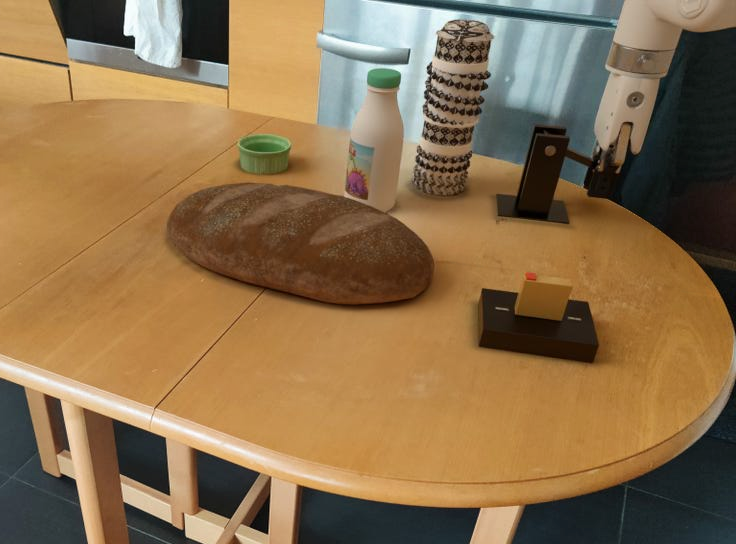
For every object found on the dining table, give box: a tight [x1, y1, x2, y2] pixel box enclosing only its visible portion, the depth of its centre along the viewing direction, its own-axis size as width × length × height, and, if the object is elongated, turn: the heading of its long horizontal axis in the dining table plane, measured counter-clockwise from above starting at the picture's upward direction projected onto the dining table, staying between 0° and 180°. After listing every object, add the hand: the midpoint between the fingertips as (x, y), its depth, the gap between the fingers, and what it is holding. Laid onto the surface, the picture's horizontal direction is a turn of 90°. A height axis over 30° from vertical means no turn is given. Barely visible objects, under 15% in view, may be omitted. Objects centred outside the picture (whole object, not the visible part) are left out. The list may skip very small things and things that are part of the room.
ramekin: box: [237, 133, 292, 175], centre depth 120 cm, size 9×9×4 cm
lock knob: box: [514, 271, 573, 321], centre depth 79 cm, size 5×2×5 cm, turn 76°
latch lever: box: [541, 130, 607, 172], centre depth 102 cm, size 12×3×3 cm, turn 76°
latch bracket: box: [495, 123, 571, 225], centre depth 104 cm, size 10×8×13 cm
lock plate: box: [477, 287, 600, 364], centre depth 81 cm, size 12×9×3 cm
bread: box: [165, 181, 435, 305], centre depth 93 cm, size 22×37×8 cm, turn 62°
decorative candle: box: [411, 18, 495, 197], centre depth 107 cm, size 9×9×25 cm
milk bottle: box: [343, 67, 405, 214], centre depth 103 cm, size 8×8×20 cm
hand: (596, 190), depth 104 cm, fingers closed on latch lever, 3 cm apart
